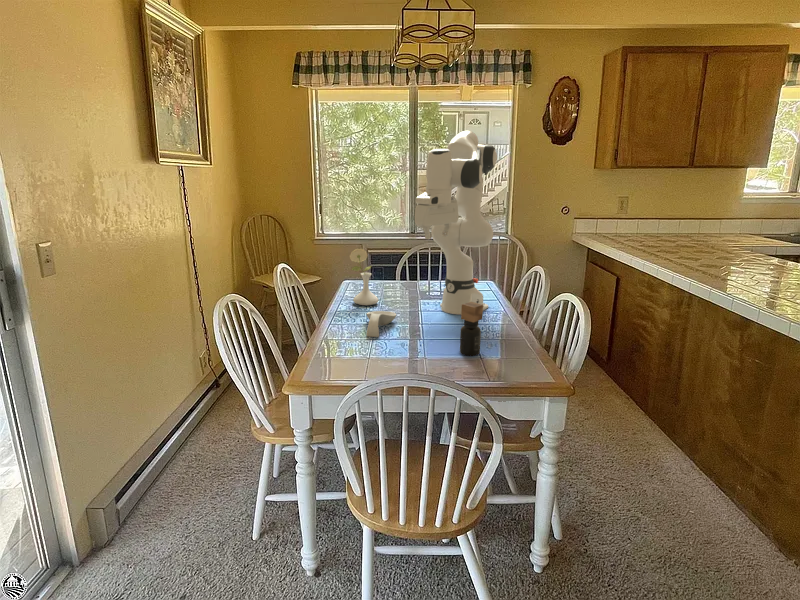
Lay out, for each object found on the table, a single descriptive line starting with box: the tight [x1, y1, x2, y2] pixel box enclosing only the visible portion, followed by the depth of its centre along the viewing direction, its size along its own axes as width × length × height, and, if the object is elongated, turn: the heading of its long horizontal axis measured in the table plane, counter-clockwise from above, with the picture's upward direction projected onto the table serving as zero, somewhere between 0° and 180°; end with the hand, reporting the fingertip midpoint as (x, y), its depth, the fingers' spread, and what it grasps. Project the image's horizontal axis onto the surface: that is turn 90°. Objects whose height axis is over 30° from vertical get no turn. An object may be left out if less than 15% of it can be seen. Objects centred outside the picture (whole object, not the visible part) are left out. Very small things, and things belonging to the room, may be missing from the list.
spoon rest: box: [366, 310, 397, 338], centre depth 194 cm, size 24×12×7 cm, turn 173°
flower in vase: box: [348, 248, 380, 306], centre depth 223 cm, size 13×11×25 cm
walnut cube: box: [460, 302, 484, 322], centre depth 166 cm, size 5×5×5 cm
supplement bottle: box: [459, 320, 482, 357], centre depth 168 cm, size 7×7×12 cm
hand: (436, 237), depth 178 cm, fingers open, 8 cm apart
